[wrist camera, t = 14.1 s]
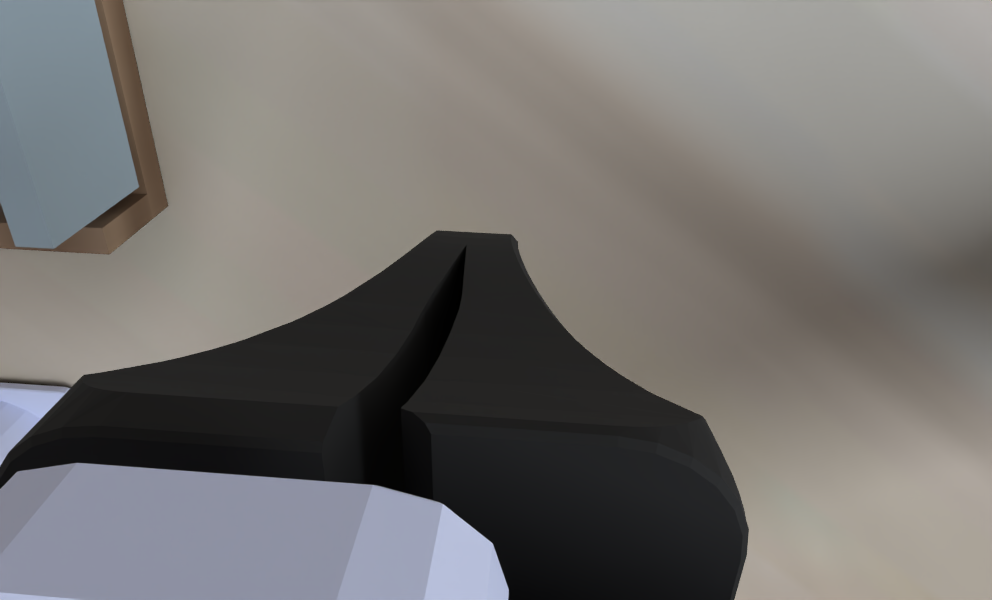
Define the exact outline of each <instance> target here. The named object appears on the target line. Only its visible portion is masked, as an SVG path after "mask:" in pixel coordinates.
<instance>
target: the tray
mask: <svg viewBox="0 0 992 600" xmlns="http://www.w3.org/2000/svg"><path fill="white" fill-rule="evenodd" d="M138 187H139V185H138V180H137V176H136V172H135V168H134V164H133V160H132V155H131V151H130V147H129V143H128V139H127V134H126V130H125V126H124V122H123V118H122V114H121V109H120V105H119V101H118V97H117V93H116V89H115V84H114V80H113V76H112V72H111V68H110V63H109V59H108V55H107V51H106V47H105V43H104V38H103V34H102V30H101V26H100V22H99V18H98V13H97V9H96V5H95V1H94V0H0V203H1V206H2V209H3V212H4V215H5V217H6V220H7V223H8V226H9V229H10V232H11V235H12V238H13V241H14V244H15V246H16V247H31V248H49V249H54V248H56V247H57V246H59V245H60V244H61V243H63V242H64V241H65V240H67V239H68V238H70V237H71V236H72V235H74V234H75V233H76V232H78V231H79V230H81V229H82V228H83V227H85V226H86V225H87V224H89V223H90V222H92V221H93V220H94V219H96V218H97V217H99V216H100V215H101V214H103V213H104V212H105V211H107V210H108V209H110V208H111V207H112V206H114V205H115V204H116V203H118V202H119V201H121V200H122V199H123V198H125V197H126V196H127V195H129V194H130V193H132V192H133V191H134V190H136V189H137V188H138Z"/></svg>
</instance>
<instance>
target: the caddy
mask: <svg viewBox="0 0 992 600" xmlns="http://www.w3.org/2000/svg"><path fill="white" fill-rule="evenodd" d="M94 1H95V5H96V9H97V13H98V18H99V22H100V26H101V30H102V34H103V38H104V43H105V47H106V51H107V55H108V59H109V63H110V68H111V72H112V76H113V80H114V84H115V89H116V93H117V97H118V101H119V105H120V109H121V114H122V118H123V122H124V126H125V130H126V134H127V139H128V143H129V147H130V151H131V155H132V160H133V164H134V168H135V172H136V176H137V180H138V185H139V187H138V188H137V189H136V190H134V191H133V192H132V193H130V194H129V195H127V196H126V197H125V198H123V199H122V200H121V201H119V202H118V203H116V204H115V205H114V206H112V207H111V208H110V209H108V210H107V211H105V212H104V213H103V214H101V215H100V216H99V217H97V218H96V219H94V220H93V221H92V222H90V223H89V224H87V225H86V226H85V227H83V228H82V229H81V230H79V231H78V232H76V233H75V234H74V235H72V236H71V237H70V238H68V239H67V240H65V241H64V242H63V243H61V244H60V245H59V246H57V247H56V248H54V249H49V248H31V247H16V246H15V244H14V241H13V238H12V235H11V232H10V229H9V226H8V223H7V220H6V217H5V215H4V212H3V209H2V206H1V203H0V248H6V249H23V250H41V251H58V252H76V253H94V254H111V253H112V252H113V251H114V250H115V249H117V248H118V247H119V246H120V245H121V244H123V243H124V242H125V241H126V240H127V239H129V238H130V237H131V236H132V235H134V234H135V233H136V232H137V231H138V230H140V229H141V228H142V227H143V226H144V225H146V224H147V223H148V222H149V221H150V220H152V219H153V218H154V217H155V216H157V215H158V214H159V213H160V212H161V211H163V210H164V209H165V208H166V207H167V206H168V203H167V199H166V194H165V190H164V185H163V181H162V176H161V172H160V167H159V163H158V158H157V154H156V149H155V145H154V140H153V136H152V131H151V127H150V122H149V118H148V113H147V109H146V104H145V99H144V95H143V90H142V86H141V81H140V77H139V72H138V68H137V63H136V59H135V54H134V50H133V45H132V41H131V36H130V32H129V27H128V23H127V18H126V14H125V9H124V5H123V0H94Z"/></svg>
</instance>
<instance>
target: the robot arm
mask: <svg viewBox="0 0 992 600" xmlns="http://www.w3.org/2000/svg"><path fill="white" fill-rule="evenodd" d="M748 532H749V529H748V525H747V522H746V517H745V512H744V508H743V504H742V501H741V497H740V494H739V491H738V489H737V486H736V483H735V481H734V478H733V476H732V473H731V471H730V469H729V467H728V465H727V462H726V460H725V458H724V456H723V454H722V452H721V450H720V448H719V446H718V444H717V442H716V440H715V438H714V436H713V434H712V432H711V430H710V428H709V426H708V424H707V422H706V420H705V419H704V418H703V416H701V415H698V414H696V413H694V412H692V411H690V410H687V409H685V408H683V407H681V406H678V405H676V404H674V403H672V402H670V401H667V400H665V399H663V398H661V397H659V396H656V395H654V394H652V393H650V392H648V391H647V390H645V389H643V388H642V387H640V386H638V385H637V384H635V383H633V382H631V381H630V380H628V379H626V378H625V377H623V376H621V375H620V374H619V373H617V372H616V371H614V370H613V369H611V368H610V367H608V366H607V365H605V364H604V363H603V362H602V361H600V360H599V359H598V358H597V357H595V356H594V355H593V354H591V353H590V352H589V351H588V350H586V349H585V348H584V347H583V346H582V345H581V344H580V343H579V342H577V341H576V340H575V339H574V338H573V337H572V336H571V334H570V333H569V332H568V331H567V330H566V329H565V328H564V327H563V325H562V324H561V323H560V322H559V321H558V319H557V318H556V317H555V316H554V314H553V313H552V311H551V310H550V309H549V307H548V306H547V304H546V303H545V302H544V300H543V299H542V297H541V295H540V294H539V292H538V291H537V289H536V287H535V285H534V284H533V282H532V280H531V278H530V276H529V275H528V273H527V270H526V268H525V266H524V264H523V261H522V259H521V256H520V253H519V250H518V241H517V240H516V239H515V238H514V237H513V236H512V235H510V234H491V233H472V232H453V231H436V232H434V233H433V234H431V235H430V236H428V237H427V238H426V239H425V240H423V241H422V242H421V243H419V244H418V245H417V246H416V247H414V248H413V249H412V250H410V251H409V252H408V253H407V254H405V255H404V256H402V257H401V258H400V259H398V260H397V261H396V262H394V263H393V264H392V265H390V266H389V267H388V268H386V269H385V270H384V271H382V272H381V273H379V274H378V275H376V276H374V277H373V278H371V279H370V280H368V281H367V282H365V283H364V284H362V285H360V286H359V287H357V288H356V289H354V290H353V291H351V292H349V293H348V294H346V295H345V296H343V297H341V298H339V299H338V300H336V301H334V302H332V303H330V304H328V305H326V306H325V307H323V308H320V309H318V310H316V311H314V312H312V313H310V314H308V315H306V316H304V317H302V318H300V319H297V320H295V321H293V322H290V323H288V324H285V325H282V326H280V327H277V328H274V329H272V330H269V331H266V332H264V333H261V334H258V335H256V336H253V337H250V338H248V339H245V340H242V341H239V342H236V343H232V344H229V345H226V346H222V347H219V348H216V349H212V350H208V351H205V352H201V353H197V354H193V355H189V356H185V357H181V358H176V359H172V360H167V361H163V362H158V363H152V364H147V365H141V366H135V367H130V368H124V369H119V370H113V371H107V372H102V373H95V374H88V375H83V376H82V377H81V378H80V379H79V380H78V381H77V382H76V383H75V384H74V385H73V386H72V387H71V388H67V387H59V386H45V385H30V384H16V383H1V382H0V600H734V598H735V595H736V591H737V588H738V584H739V581H740V577H741V573H742V570H743V566H744V563H745V559H746V555H747V544H748Z"/></svg>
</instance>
